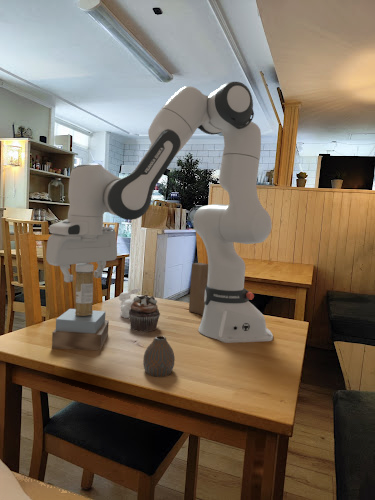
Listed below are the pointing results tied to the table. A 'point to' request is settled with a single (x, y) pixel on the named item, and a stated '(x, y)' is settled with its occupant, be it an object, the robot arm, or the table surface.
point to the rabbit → (127, 302)
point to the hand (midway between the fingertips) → (83, 279)
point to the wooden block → (198, 287)
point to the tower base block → (80, 339)
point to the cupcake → (144, 314)
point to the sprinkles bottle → (84, 289)
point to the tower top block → (80, 322)
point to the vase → (159, 358)
